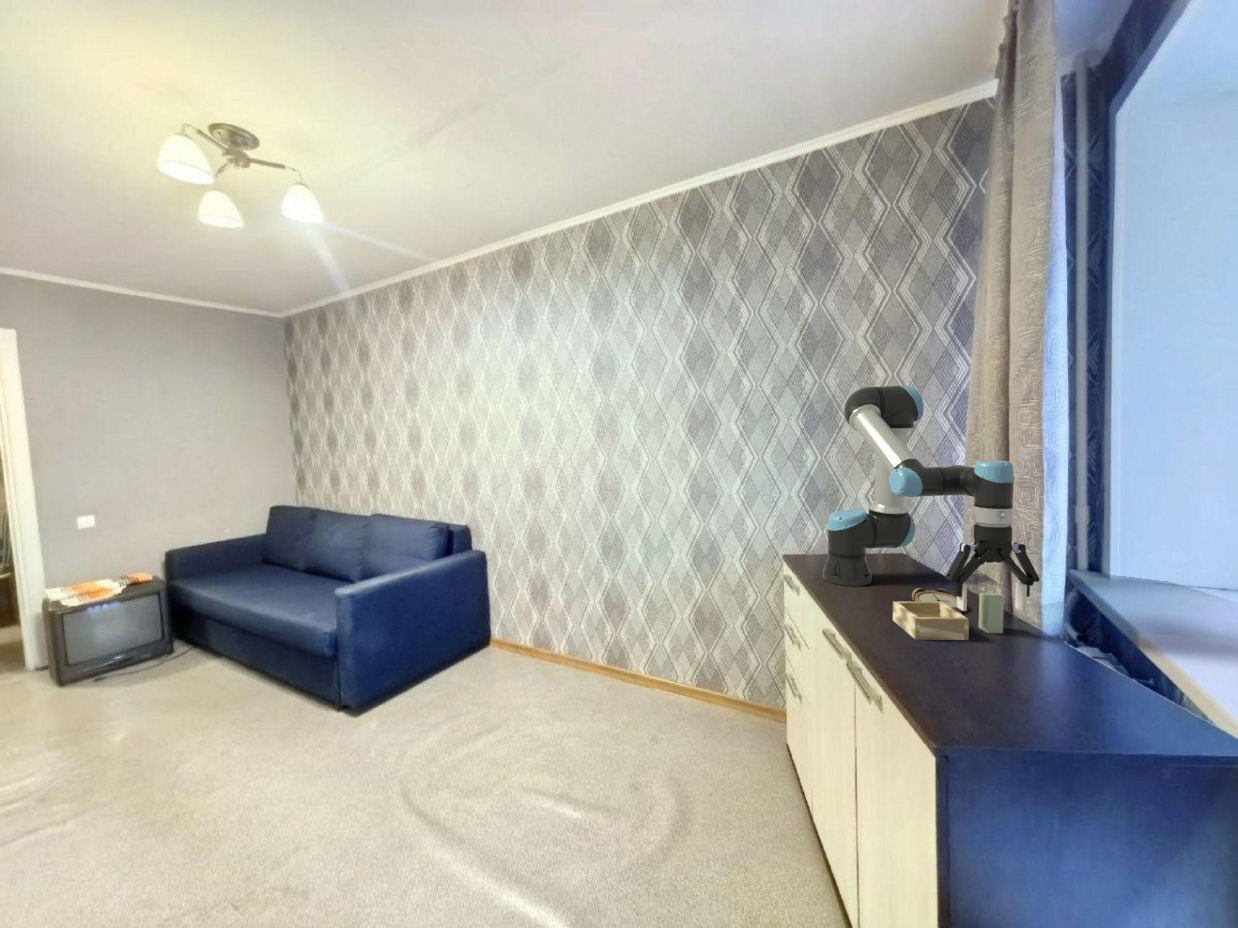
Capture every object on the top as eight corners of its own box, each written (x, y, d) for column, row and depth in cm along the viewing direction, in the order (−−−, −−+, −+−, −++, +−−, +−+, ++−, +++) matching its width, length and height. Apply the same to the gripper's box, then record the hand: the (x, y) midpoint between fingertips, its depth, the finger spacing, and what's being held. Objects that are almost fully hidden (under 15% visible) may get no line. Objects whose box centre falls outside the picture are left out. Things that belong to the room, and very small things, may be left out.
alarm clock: (923, 607, 135) (905, 581, 149) (922, 623, 136) (904, 595, 151) (970, 609, 133) (948, 582, 147) (968, 625, 134) (946, 597, 148)
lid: (947, 624, 130) (948, 586, 130) (1001, 625, 129) (1002, 586, 128) (978, 646, 118) (979, 604, 117) (1038, 647, 116) (1039, 604, 116)
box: (892, 623, 131) (892, 601, 131) (940, 624, 130) (941, 601, 130) (915, 643, 119) (915, 618, 119) (968, 643, 118) (968, 619, 118)
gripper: (947, 527, 119) (945, 614, 120) (1060, 526, 117) (1057, 615, 118) (930, 521, 126) (929, 603, 128) (1036, 520, 124) (1034, 604, 125)
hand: (990, 609), depth 123 cm, fingers open, 13 cm apart
